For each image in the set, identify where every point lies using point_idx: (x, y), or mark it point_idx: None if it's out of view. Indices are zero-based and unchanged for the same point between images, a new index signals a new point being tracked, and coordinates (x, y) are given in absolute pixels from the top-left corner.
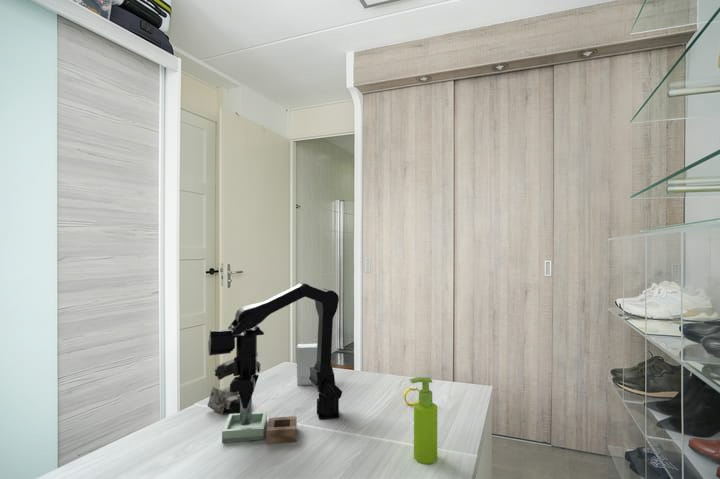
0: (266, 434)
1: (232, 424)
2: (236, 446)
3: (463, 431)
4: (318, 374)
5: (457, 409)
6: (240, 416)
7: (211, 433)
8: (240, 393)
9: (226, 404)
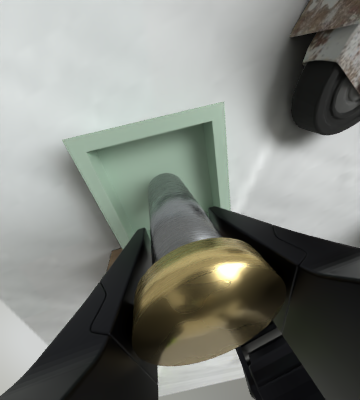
0: (107, 269)
1: (184, 131)
2: (74, 192)
3: (189, 385)
4: None
5: (236, 370)
6: (155, 188)
7: (133, 59)
8: (61, 352)
9: (328, 37)
